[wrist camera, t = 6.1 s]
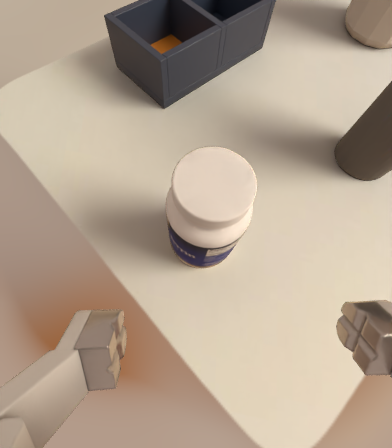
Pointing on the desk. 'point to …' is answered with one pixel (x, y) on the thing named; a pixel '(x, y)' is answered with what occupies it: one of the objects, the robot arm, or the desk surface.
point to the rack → (184, 41)
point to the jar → (370, 22)
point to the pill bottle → (209, 205)
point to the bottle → (369, 141)
